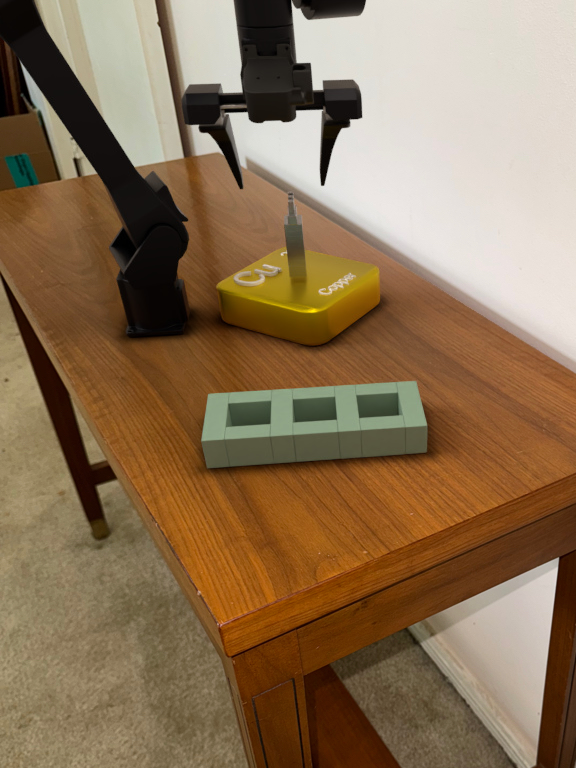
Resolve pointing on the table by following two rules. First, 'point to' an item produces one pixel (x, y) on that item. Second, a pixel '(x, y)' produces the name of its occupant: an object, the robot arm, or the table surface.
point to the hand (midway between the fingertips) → (282, 186)
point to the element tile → (299, 296)
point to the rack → (313, 424)
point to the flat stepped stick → (294, 240)
